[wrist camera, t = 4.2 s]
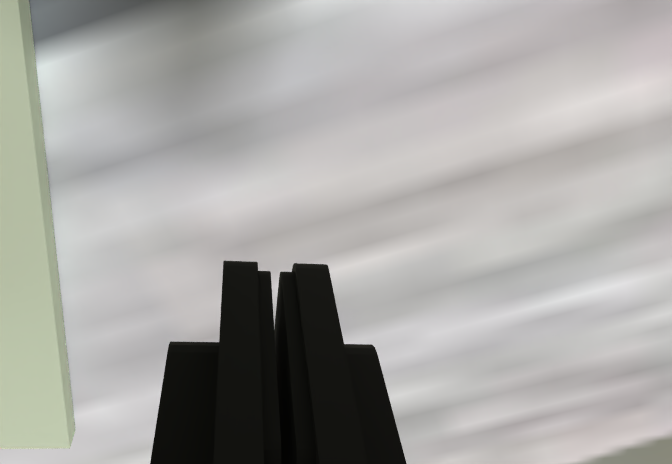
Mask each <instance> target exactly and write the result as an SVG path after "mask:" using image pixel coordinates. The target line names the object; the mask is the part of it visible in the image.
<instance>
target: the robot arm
mask: <svg viewBox="0 0 672 464" xmlns="http://www.w3.org/2000/svg"><path fill="white" fill-rule="evenodd" d="M150 464H406V460H405V457H404V453H403V449H402V445H401V442H400V438H399V434H398V430H397V427H396V423H395V419H394V415H393V412H392V408H391V404H390V400H389V396H388V393H387V389H386V385H385V381H384V378H383V374H382V370H381V366H380V363H379V359H378V355H377V352H376V350H375V347H374V346H373V345H357V344H344V342H343V337H342V332H341V328H340V323H339V318H338V313H337V308H336V303H335V298H334V293H333V288H332V283H331V278H330V273H329V269H328V265H324V264H297V263H294V265H293V268H292V272H280V277H279V287H278V298H277V308H276V318H275V329H274V320H273V304H272V288H271V273H270V271H258V263H257V262H242V261H224V264H223V283H222V302H221V321H220V341H219V342H170V344H169V348H168V353H167V360H166V366H165V372H164V379H163V385H162V392H161V398H160V405H159V411H158V418H157V424H156V430H155V437H154V443H153V450H152V456H151V463H150Z"/></svg>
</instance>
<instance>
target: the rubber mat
mask: <svg viewBox="0 0 672 464" xmlns="http://www.w3.org/2000/svg"><path fill="white" fill-rule="evenodd" d="M74 433H75V423H74V414H73V405H72V395H71V386H70V377H69V367H68V358H67V349H66V339H65V330H64V321H63V312H62V302H61V293H60V284H59V274H58V265H57V256H56V246H55V237H54V228H53V219H52V209H51V200H50V191H49V181H48V172H47V163H46V153H45V144H44V135H43V126H42V116H41V107H40V98H39V88H38V79H37V70H36V61H35V51H34V42H33V33H32V23H31V14H30V5H29V0H0V449H44V448H70V446H71V443H72V439H73V436H74Z"/></svg>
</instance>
